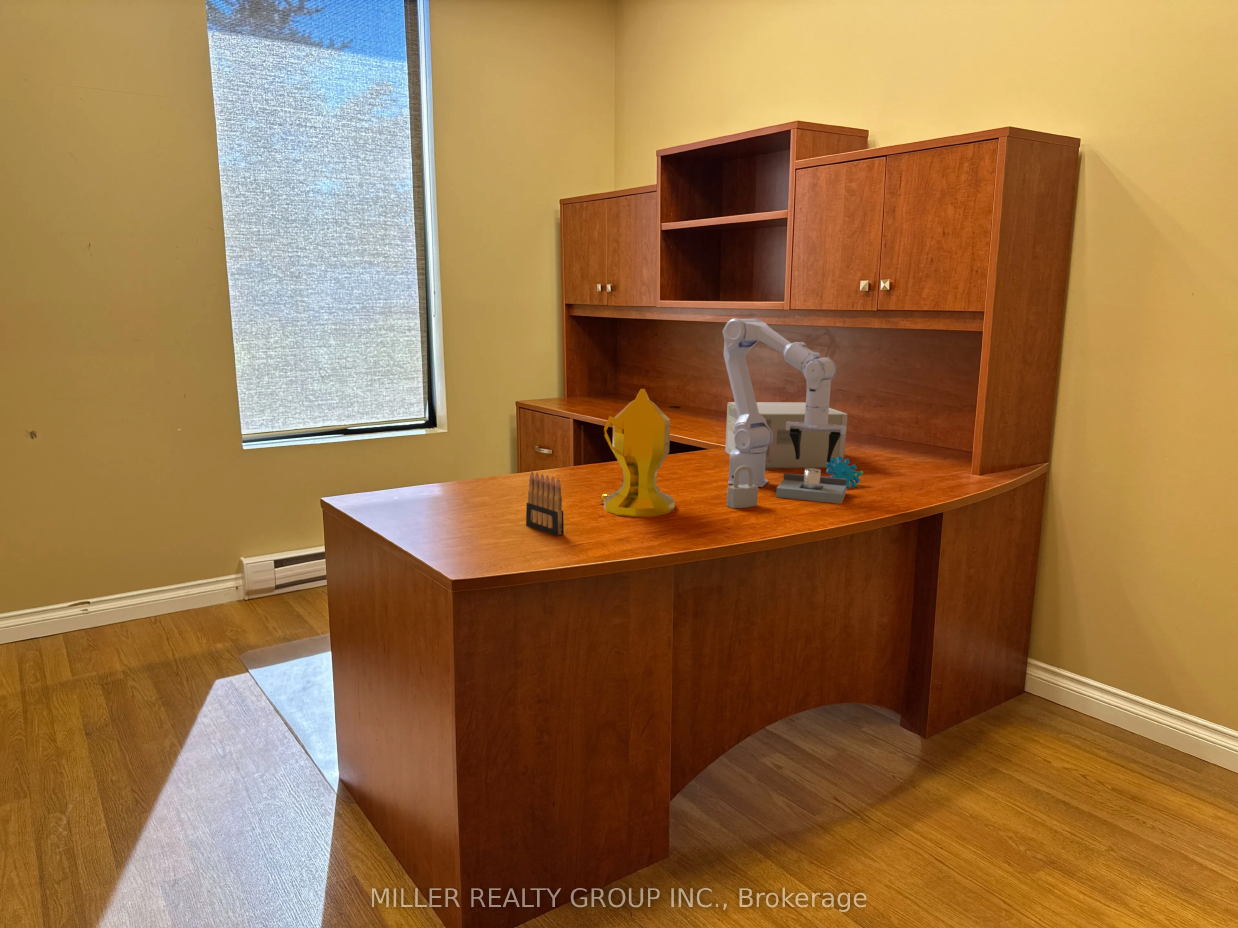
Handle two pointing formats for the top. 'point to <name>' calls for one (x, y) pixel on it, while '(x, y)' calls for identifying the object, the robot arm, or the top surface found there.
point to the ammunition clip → (545, 505)
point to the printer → (782, 445)
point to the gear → (844, 471)
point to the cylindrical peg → (811, 478)
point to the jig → (828, 490)
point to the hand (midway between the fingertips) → (813, 460)
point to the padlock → (742, 491)
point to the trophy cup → (639, 459)
